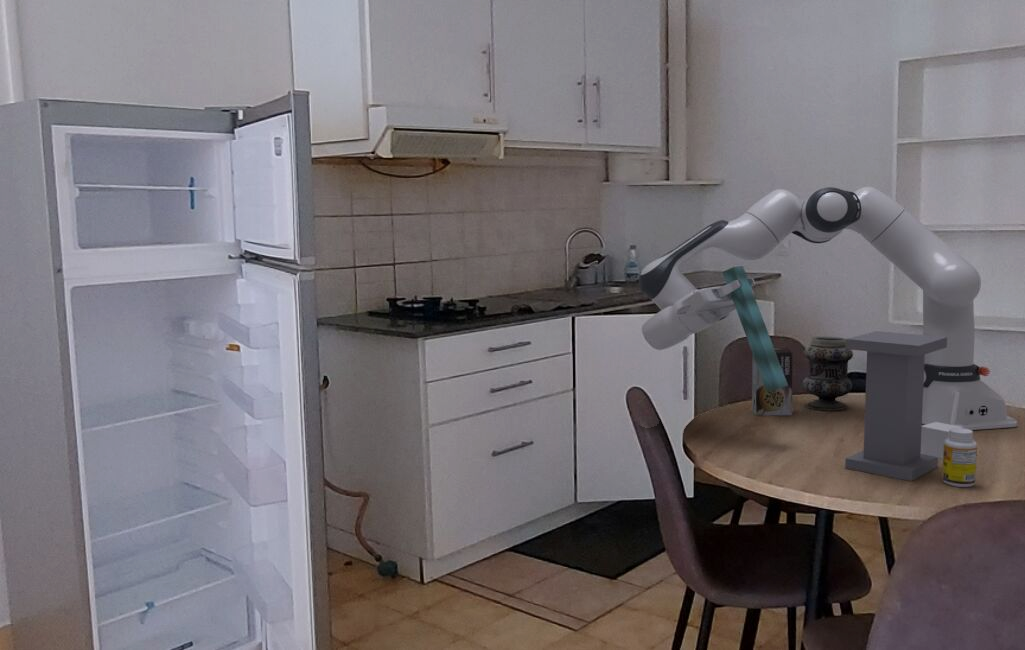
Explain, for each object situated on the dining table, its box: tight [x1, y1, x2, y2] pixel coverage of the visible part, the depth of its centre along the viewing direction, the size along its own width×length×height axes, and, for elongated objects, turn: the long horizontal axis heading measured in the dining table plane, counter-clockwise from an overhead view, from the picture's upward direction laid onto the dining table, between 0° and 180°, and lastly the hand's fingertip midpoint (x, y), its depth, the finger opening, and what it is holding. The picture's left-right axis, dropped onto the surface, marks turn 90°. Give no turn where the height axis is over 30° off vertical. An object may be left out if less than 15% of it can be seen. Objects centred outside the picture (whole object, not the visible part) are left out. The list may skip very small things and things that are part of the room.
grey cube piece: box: [920, 422, 963, 460], centre depth 191 cm, size 6×6×6 cm
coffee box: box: [751, 347, 794, 417], centre depth 230 cm, size 9×6×16 cm
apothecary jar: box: [802, 335, 854, 412], centre depth 236 cm, size 12×12×18 cm
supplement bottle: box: [942, 428, 978, 488], centre depth 171 cm, size 6×6×10 cm
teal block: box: [722, 265, 788, 392], centre depth 201 cm, size 28×4×3 cm
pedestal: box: [844, 330, 947, 482], centre depth 181 cm, size 14×14×26 cm
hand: (746, 282), depth 201 cm, fingers closed on teal block, 4 cm apart
